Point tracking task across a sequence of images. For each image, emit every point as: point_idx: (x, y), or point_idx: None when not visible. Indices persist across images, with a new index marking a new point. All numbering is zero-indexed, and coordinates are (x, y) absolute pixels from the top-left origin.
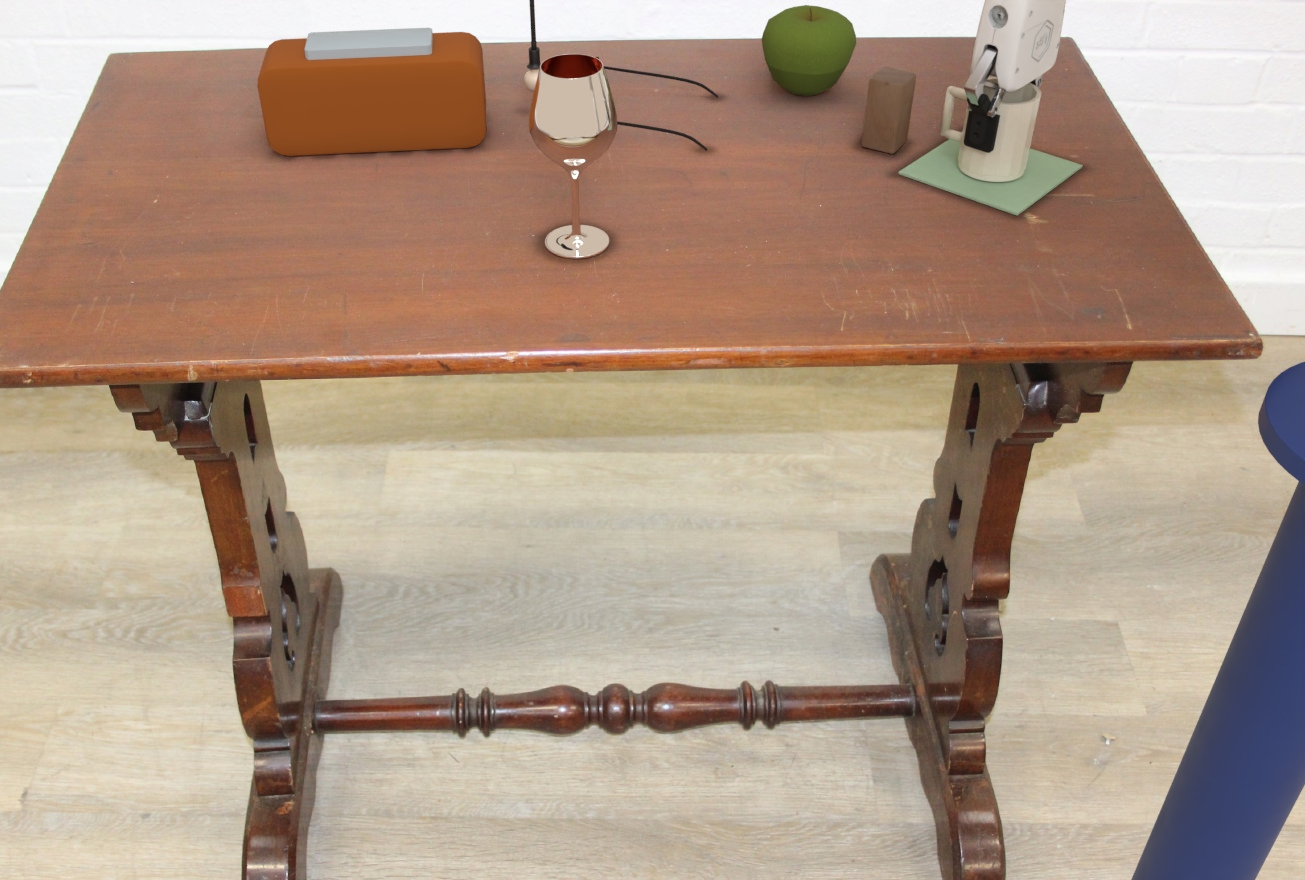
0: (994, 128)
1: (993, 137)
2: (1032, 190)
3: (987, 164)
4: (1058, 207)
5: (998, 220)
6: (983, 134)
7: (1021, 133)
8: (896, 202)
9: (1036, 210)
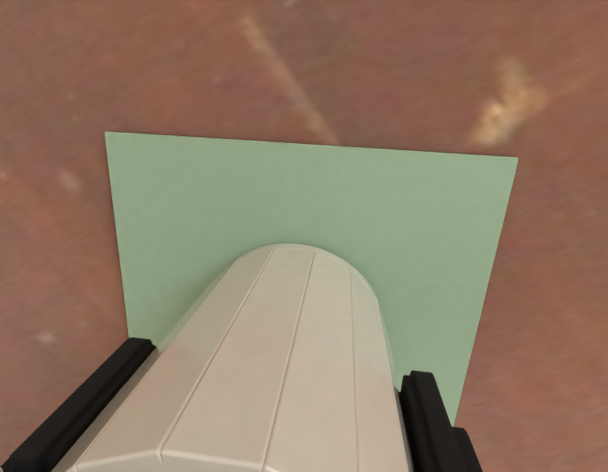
0: (461, 462)
1: (447, 420)
2: (346, 184)
3: (388, 342)
4: (386, 75)
5: (569, 191)
6: (478, 465)
7: (329, 341)
8: (587, 433)
9: (444, 125)
